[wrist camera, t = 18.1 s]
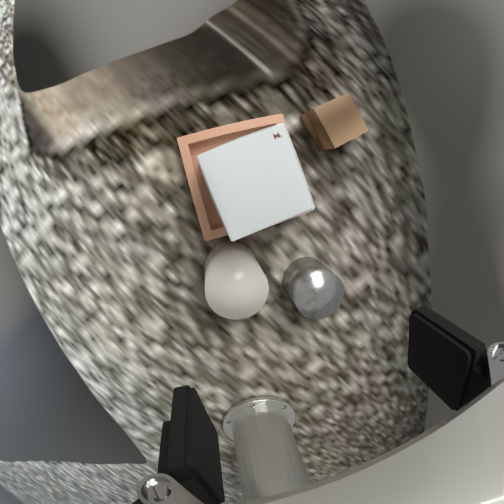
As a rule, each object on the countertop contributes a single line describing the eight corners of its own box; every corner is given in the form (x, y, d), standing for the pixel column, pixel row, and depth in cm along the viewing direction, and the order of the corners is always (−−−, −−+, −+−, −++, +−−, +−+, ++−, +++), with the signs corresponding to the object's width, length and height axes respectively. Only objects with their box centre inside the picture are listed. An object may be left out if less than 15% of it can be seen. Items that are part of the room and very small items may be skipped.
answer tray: (299, 211, 36) (305, 214, 34) (204, 236, 35) (204, 241, 33) (277, 117, 33) (282, 113, 30) (178, 140, 32) (176, 138, 29)
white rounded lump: (260, 282, 38) (274, 309, 30) (213, 295, 38) (215, 326, 30) (249, 235, 36) (260, 252, 29) (198, 249, 36) (196, 270, 28)
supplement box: (198, 159, 32) (192, 152, 20) (258, 137, 32) (287, 119, 20) (221, 218, 34) (229, 244, 22) (279, 195, 35) (318, 209, 23)
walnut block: (349, 134, 35) (368, 130, 30) (319, 150, 35) (335, 148, 30) (331, 101, 33) (348, 92, 28) (299, 116, 33) (313, 108, 28)
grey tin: (328, 291, 40) (346, 310, 34) (287, 304, 40) (300, 325, 34) (322, 251, 38) (341, 265, 33) (278, 264, 38) (291, 280, 32)
